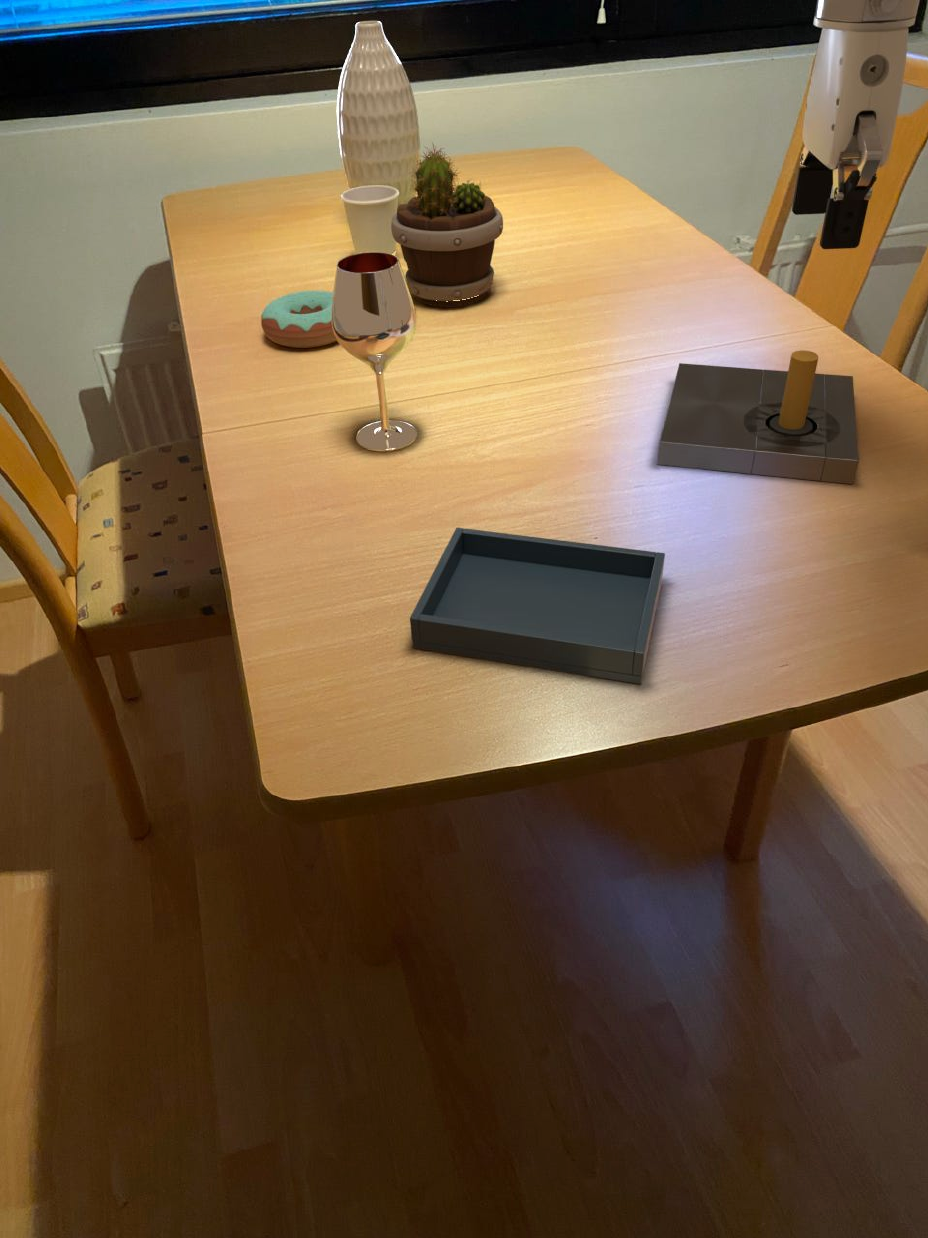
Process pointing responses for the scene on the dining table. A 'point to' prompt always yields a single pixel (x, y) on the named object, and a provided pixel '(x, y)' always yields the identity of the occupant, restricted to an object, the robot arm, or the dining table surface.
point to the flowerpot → (446, 236)
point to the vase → (377, 115)
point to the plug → (796, 396)
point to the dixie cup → (371, 217)
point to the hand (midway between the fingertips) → (823, 229)
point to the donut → (300, 319)
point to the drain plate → (758, 425)
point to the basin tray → (541, 604)
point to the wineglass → (375, 331)
